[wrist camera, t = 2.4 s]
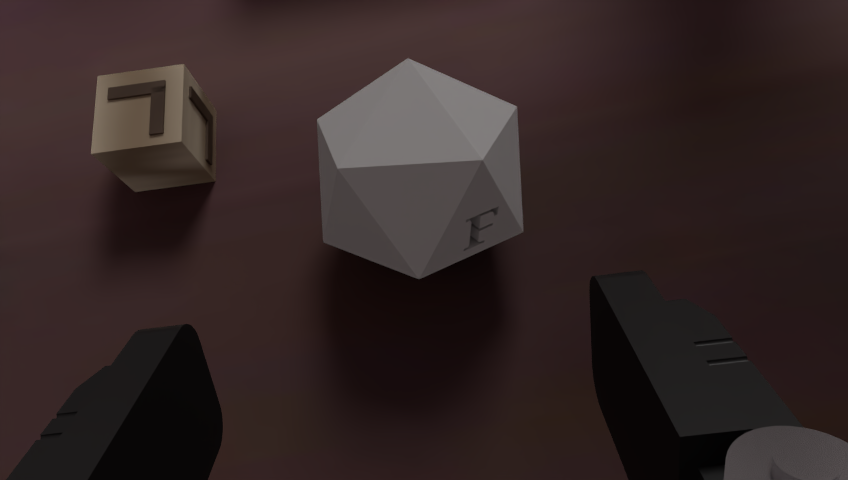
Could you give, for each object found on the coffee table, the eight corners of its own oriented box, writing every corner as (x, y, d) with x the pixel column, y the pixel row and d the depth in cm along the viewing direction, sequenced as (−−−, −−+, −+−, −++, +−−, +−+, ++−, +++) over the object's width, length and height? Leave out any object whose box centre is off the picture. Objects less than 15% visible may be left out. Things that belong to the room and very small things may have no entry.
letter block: (219, 110, 34) (185, 62, 30) (218, 181, 33) (182, 139, 29) (139, 121, 34) (96, 74, 30) (135, 192, 33) (89, 152, 29)
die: (326, 304, 31) (424, 322, 22) (258, 122, 29) (334, 66, 21) (470, 241, 34) (602, 235, 26) (415, 76, 33) (535, 12, 24)
